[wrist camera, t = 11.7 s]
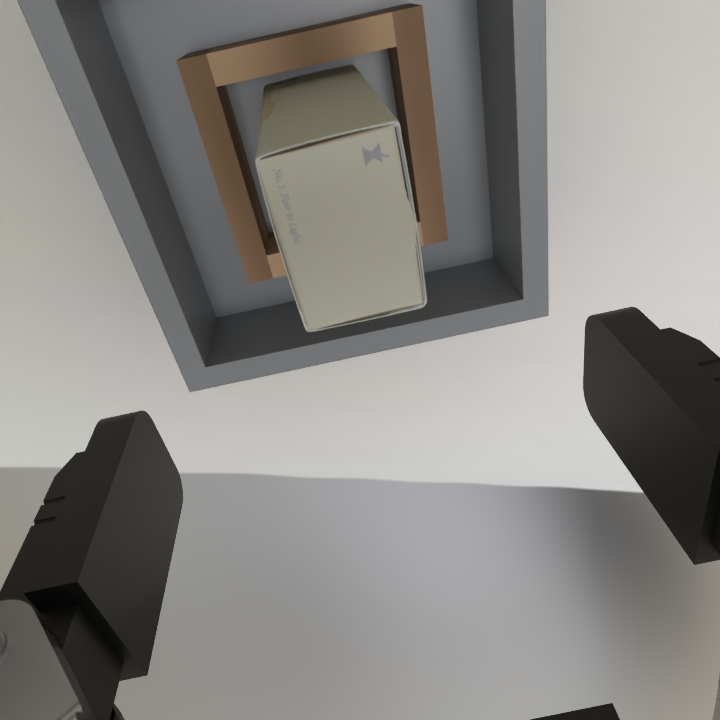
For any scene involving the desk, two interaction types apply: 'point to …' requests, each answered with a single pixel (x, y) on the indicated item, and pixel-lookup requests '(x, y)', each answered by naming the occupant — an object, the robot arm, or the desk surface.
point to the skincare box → (339, 199)
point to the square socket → (297, 50)
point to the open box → (203, 201)
